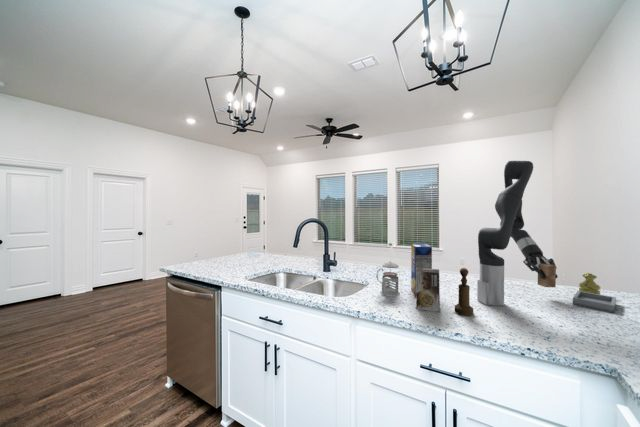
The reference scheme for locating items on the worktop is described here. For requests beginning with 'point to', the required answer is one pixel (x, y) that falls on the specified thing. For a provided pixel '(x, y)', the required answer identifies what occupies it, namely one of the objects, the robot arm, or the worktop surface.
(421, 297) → the coffee box
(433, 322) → the worktop surface
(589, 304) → the parts tray
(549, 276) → the block
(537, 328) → the worktop surface
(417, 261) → the juice carton
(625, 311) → the worktop surface
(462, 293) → the brown chess piece
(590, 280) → the olive green lumpy figure
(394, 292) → the french press
